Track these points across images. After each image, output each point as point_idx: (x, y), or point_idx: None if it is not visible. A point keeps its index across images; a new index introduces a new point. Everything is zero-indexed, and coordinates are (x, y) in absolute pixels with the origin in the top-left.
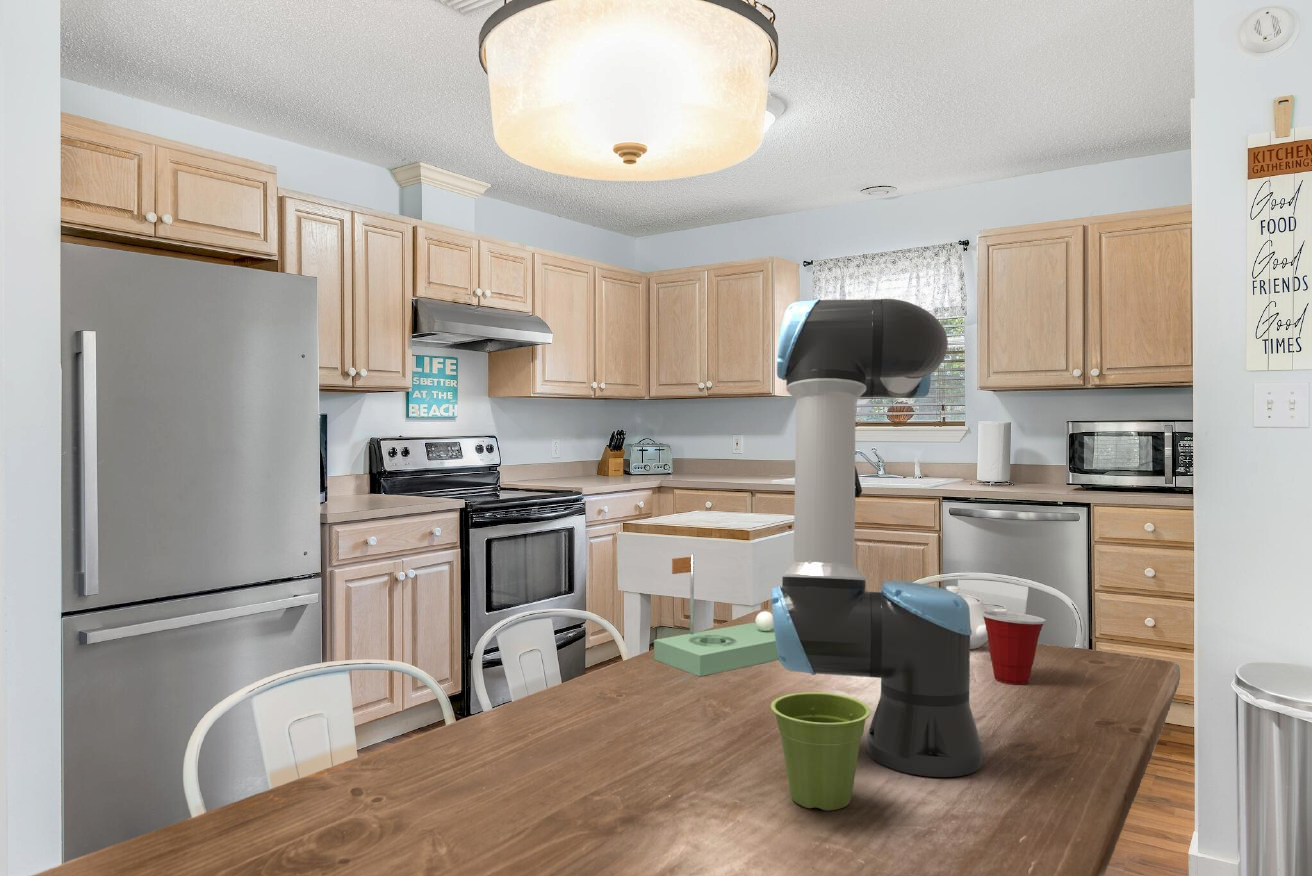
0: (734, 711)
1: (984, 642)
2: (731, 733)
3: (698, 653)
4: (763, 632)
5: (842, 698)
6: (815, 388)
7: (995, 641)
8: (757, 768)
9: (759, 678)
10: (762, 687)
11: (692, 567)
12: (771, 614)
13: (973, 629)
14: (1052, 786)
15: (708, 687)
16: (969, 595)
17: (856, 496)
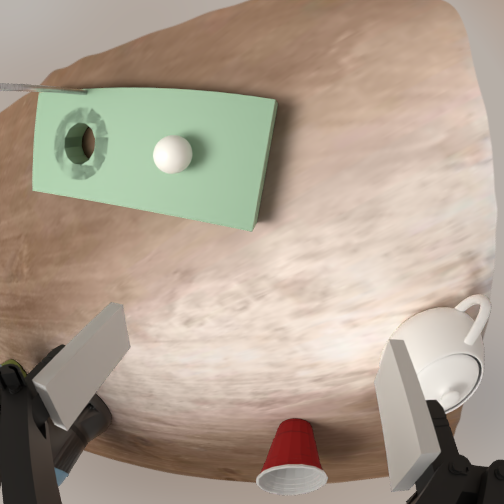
0: (27, 278)
1: None
2: (12, 300)
3: (35, 182)
4: None
5: None
6: None
7: (268, 455)
8: (7, 335)
9: (88, 238)
10: (73, 260)
11: (1, 90)
12: (171, 167)
13: None
14: (111, 447)
15: (38, 219)
16: (474, 391)
17: (409, 499)
